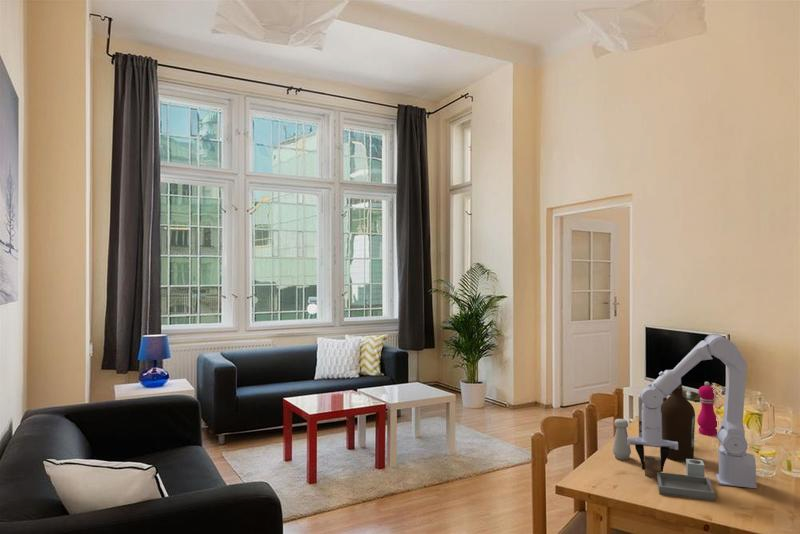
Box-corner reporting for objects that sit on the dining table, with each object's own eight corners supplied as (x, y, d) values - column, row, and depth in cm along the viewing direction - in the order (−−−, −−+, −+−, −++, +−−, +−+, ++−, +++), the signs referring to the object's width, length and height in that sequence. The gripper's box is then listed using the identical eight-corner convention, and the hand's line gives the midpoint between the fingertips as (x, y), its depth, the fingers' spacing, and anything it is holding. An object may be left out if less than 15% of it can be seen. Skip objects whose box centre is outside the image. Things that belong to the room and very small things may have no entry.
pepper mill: (694, 430, 220) (693, 379, 220) (713, 430, 219) (713, 379, 219) (701, 435, 213) (700, 383, 213) (721, 436, 212) (721, 383, 212)
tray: (708, 485, 165) (708, 477, 165) (715, 500, 154) (714, 492, 154) (656, 479, 171) (656, 471, 171) (659, 494, 159) (659, 486, 160)
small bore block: (660, 472, 176) (659, 456, 176) (661, 477, 172) (660, 461, 172) (644, 471, 178) (644, 455, 178) (645, 475, 173) (644, 459, 173)
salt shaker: (632, 461, 187) (631, 422, 187) (614, 460, 188) (613, 421, 188) (628, 455, 192) (628, 417, 192) (611, 454, 194) (610, 417, 194)
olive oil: (663, 460, 187) (661, 385, 187) (659, 450, 197) (658, 379, 197) (698, 463, 183) (697, 387, 183) (693, 453, 193) (691, 381, 193)
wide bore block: (702, 476, 172) (702, 460, 172) (704, 481, 168) (704, 465, 168) (686, 474, 174) (686, 458, 174) (687, 479, 170) (687, 463, 170)
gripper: (676, 424, 176) (677, 468, 176) (626, 421, 181) (627, 462, 181) (678, 431, 169) (679, 475, 169) (626, 426, 175) (627, 470, 175)
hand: (652, 469), depth 175 cm, fingers closed on small bore block, 4 cm apart
